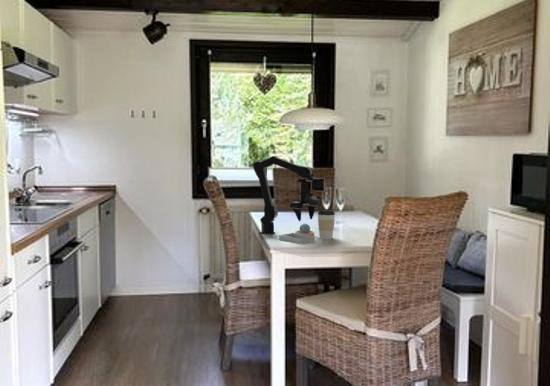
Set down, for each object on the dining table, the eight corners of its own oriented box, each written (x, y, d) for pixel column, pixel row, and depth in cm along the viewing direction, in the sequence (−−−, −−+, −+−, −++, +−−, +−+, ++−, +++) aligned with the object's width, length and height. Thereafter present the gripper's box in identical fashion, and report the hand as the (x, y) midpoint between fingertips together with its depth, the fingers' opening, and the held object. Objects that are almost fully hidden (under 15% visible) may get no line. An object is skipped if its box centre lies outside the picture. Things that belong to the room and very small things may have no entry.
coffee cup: (333, 236, 281) (333, 208, 280) (335, 239, 272) (336, 210, 271) (316, 236, 281) (316, 208, 279) (318, 239, 272) (318, 210, 270)
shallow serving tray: (278, 239, 271) (278, 235, 270) (292, 236, 278) (292, 232, 278) (300, 243, 260) (301, 239, 260) (314, 240, 268) (314, 236, 267)
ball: (305, 235, 279) (305, 224, 278) (297, 234, 282) (297, 223, 282) (312, 234, 282) (312, 223, 282) (304, 232, 286) (304, 222, 286)
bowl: (291, 235, 282) (291, 231, 282) (303, 233, 290) (303, 229, 289) (305, 237, 276) (305, 234, 275) (318, 235, 283) (318, 231, 282)
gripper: (305, 193, 268) (305, 223, 269) (328, 190, 281) (328, 219, 283) (289, 191, 276) (289, 221, 277) (312, 189, 289) (312, 217, 290)
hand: (305, 220), depth 282 cm, fingers open, 9 cm apart
